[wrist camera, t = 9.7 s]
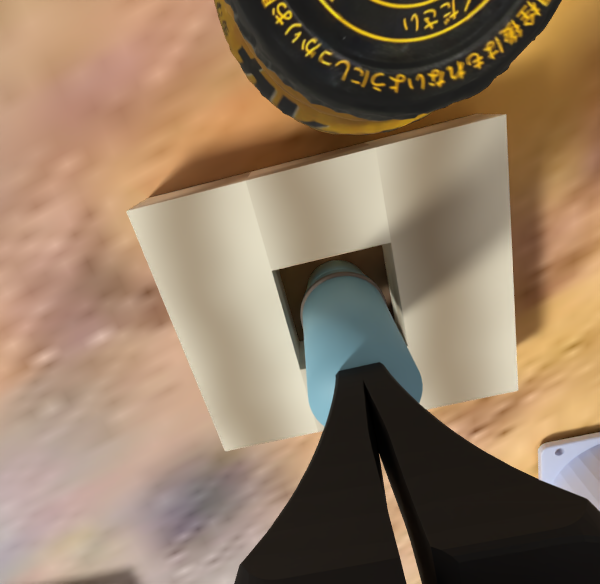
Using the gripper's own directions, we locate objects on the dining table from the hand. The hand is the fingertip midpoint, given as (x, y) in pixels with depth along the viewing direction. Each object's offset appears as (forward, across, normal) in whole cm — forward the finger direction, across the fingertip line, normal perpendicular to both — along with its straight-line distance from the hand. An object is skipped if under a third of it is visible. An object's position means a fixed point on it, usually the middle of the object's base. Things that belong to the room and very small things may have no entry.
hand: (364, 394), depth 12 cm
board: (+8, 0, 0) cm, 8 cm away
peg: (+8, 0, 0) cm, 8 cm away
